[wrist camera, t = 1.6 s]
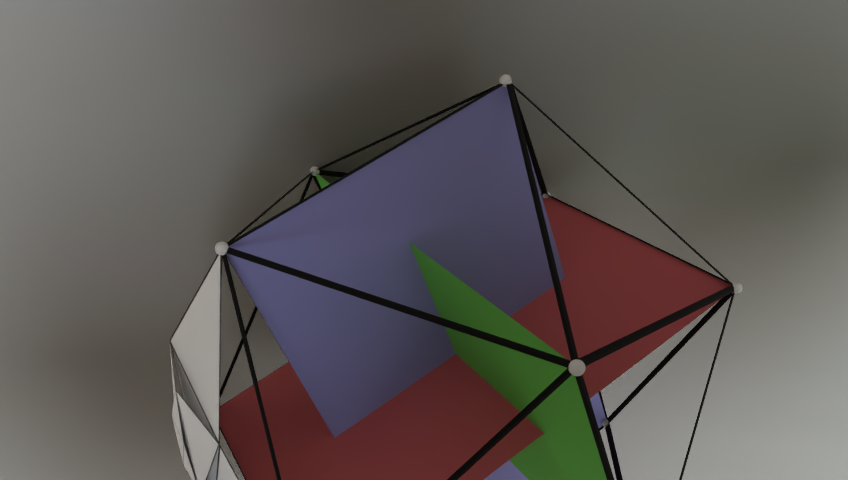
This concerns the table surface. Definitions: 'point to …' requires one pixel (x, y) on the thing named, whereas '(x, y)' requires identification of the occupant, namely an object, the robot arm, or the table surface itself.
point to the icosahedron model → (434, 319)
